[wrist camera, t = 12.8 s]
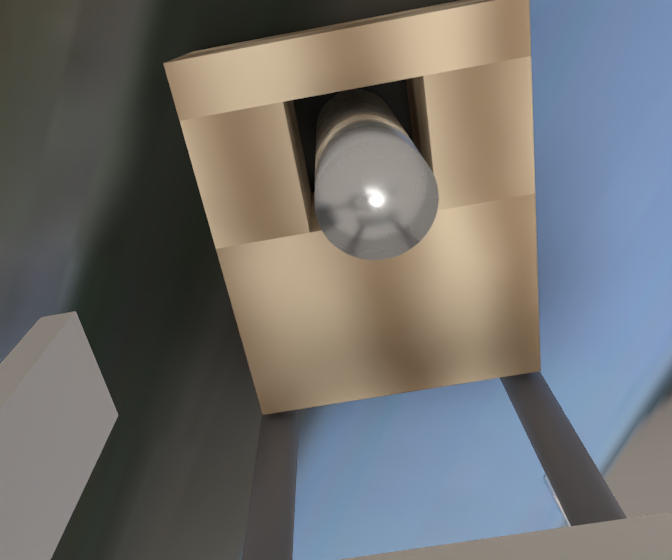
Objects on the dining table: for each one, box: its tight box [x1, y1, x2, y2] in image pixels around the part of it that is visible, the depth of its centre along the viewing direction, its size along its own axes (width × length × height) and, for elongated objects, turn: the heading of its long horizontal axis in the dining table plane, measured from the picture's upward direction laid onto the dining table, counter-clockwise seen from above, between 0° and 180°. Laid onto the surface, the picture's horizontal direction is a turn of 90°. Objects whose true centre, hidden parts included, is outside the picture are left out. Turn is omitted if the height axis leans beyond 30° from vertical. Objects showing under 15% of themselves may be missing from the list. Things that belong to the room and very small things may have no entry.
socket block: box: [163, 0, 541, 415], centre depth 29 cm, size 14×17×6 cm
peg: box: [315, 89, 439, 260], centre depth 24 cm, size 4×4×12 cm
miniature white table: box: [242, 371, 672, 560], centre depth 26 cm, size 16×6×20 cm, turn 100°
